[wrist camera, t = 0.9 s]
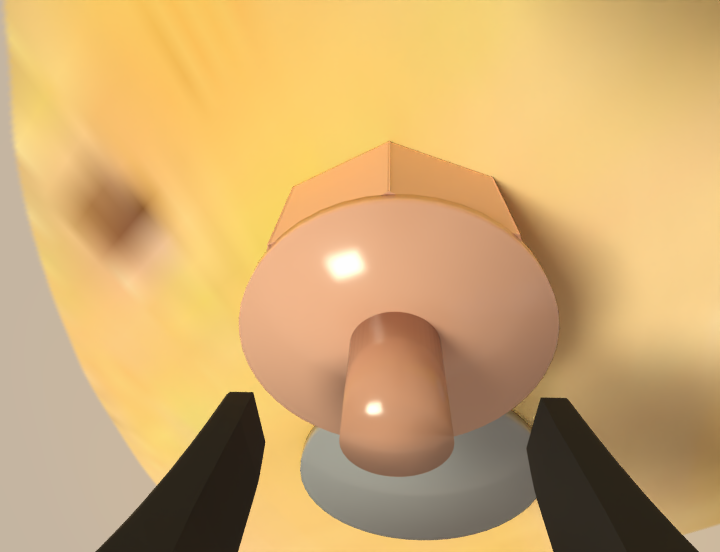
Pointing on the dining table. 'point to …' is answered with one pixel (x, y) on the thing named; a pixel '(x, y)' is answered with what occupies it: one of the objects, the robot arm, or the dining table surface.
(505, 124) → the dining table surface
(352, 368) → the lid with knob
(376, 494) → the slate plate
